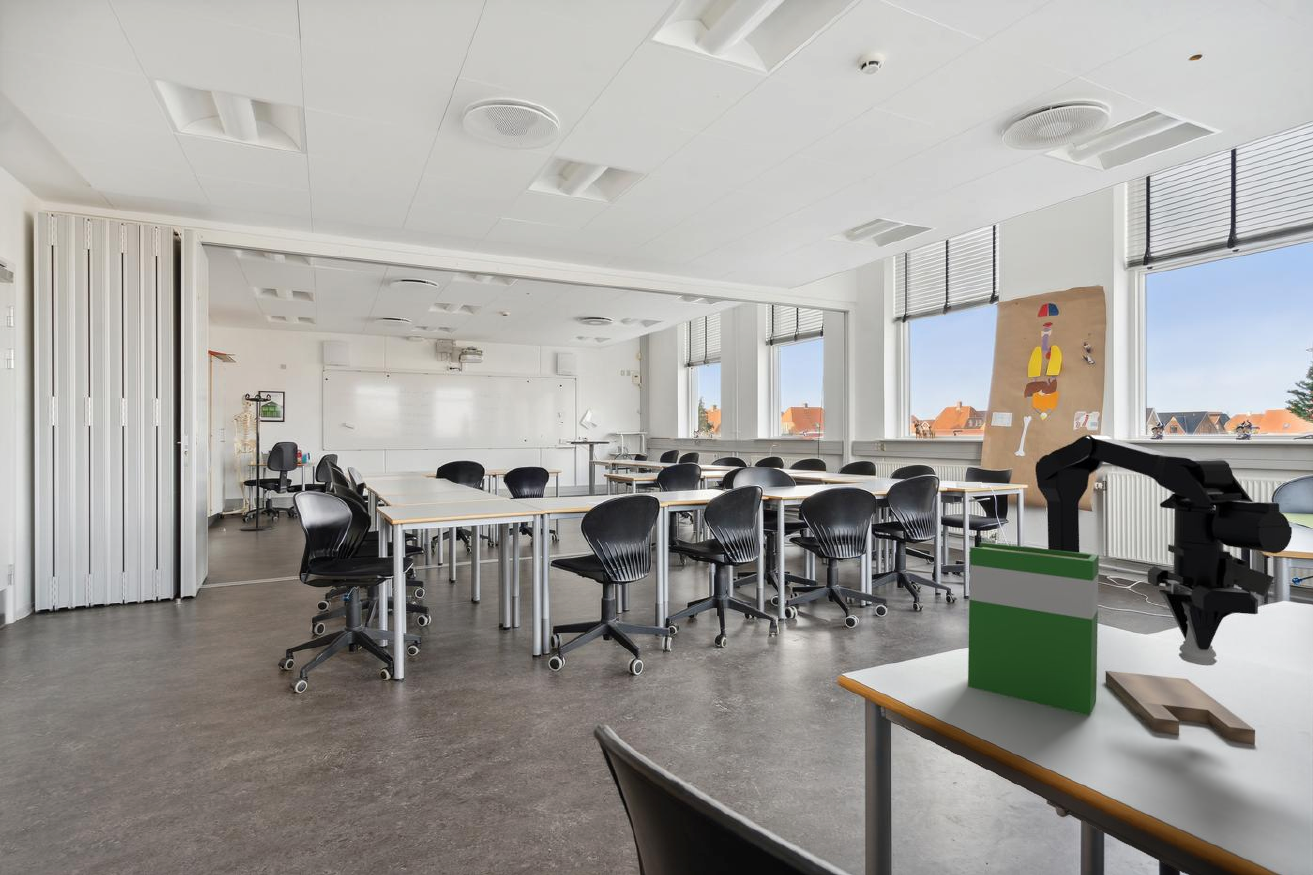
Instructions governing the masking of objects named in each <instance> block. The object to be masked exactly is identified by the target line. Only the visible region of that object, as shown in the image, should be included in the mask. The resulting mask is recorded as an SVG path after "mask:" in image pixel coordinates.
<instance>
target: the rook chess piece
mask: <svg viewBox="0 0 1313 875" xmlns="http://www.w3.org/2000/svg"><path fill="white" fill-rule="evenodd" d="M1184 613H1185V612H1184ZM1185 614H1186V613H1185ZM1186 623H1187V625H1188V630H1187V635H1186V639H1185V638H1184V641H1182V644H1181V645H1179V649H1178V650H1179V651H1180V652H1179V653H1178V656H1179V658H1180V659H1181V660H1182V661H1184V662H1186V663H1189V664H1194V665H1201V666H1214V665H1215V664H1216V663H1217V662H1218V660H1217V659H1216V657H1217V652H1216V651H1215V649H1213V648H1214V647H1213V646H1212V643H1211V644H1210V647H1209V649H1208V650H1201V649H1199V648H1198V646H1197V644H1196V641H1195V639H1194V636H1193V633H1192V630H1191V627H1190V624H1189V622H1188V621H1187V622H1186Z"/></svg>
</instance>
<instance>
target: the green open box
mask: <svg viewBox="0 0 1313 875" xmlns="http://www.w3.org/2000/svg"><path fill="white" fill-rule="evenodd" d="M1099 559H1100V555H1099V554H1093V553H1086V552H1079V553H1078V552H1068V551H1059V550H1050V549H1048V548H1039V547H1032V546H1031V547H1030V546H1021V545H1012V544H1003V543H994V542H993V543H992V542H983V541H981V542H979V547H978V546H977V547H976V546H970V547H969V596H968V597H969V598H968V599H969V604H968V606H969V607H968V652H967V653H968V659H967V660H968V662H967V665H968V667H967V668H968V669H967V675H968V676H967V687H968V688H972V689H973V688H974V689H976V690H981V691H985V692H988V693H989V692H990V693H993V694H998V695H1002V696H1005V697H1006V696H1007V697H1008V698H1009V697H1010V698H1015V699H1018V700H1022V701H1027V702H1031V703H1035V704H1039V705H1043V706H1048V707H1052V708H1056V709H1059V710H1064V711H1068V712H1072V713H1076V714H1078V715H1079V714H1080V715H1084V716H1088V717H1091V715H1092V713H1093V711H1094V708H1095V706H1096V703H1097V681H1098V680H1097V678H1098V676H1097V674H1098V629H1099V628H1098V627H1099V626H1098V623H1099V622H1098V619H1099V568H1100V567H1099V566H1100V562H1099V561H1100V560H1099Z"/></svg>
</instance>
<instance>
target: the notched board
mask: <svg viewBox="0 0 1313 875" xmlns="http://www.w3.org/2000/svg"><path fill="white" fill-rule="evenodd" d="M1105 681H1106V682H1107V683H1108V684H1107V683H1106V682H1105ZM1105 681H1104V682H1105V683H1106V684H1107V685H1108V687H1110V689H1112V690H1113V692H1114V693H1116V694H1117V695H1118V696H1119V697H1120V698H1121V699H1122V700H1123V702H1124V703H1126V704H1127V705H1128V707H1130V708H1131V709H1132V710H1133V712H1135V713H1136V714H1137V715H1138V716H1139V717H1140V718H1141V720H1143V721H1144V723H1146V725H1148V726H1149V728H1151V729H1152V731H1153V732H1155V733H1164V734H1170V735H1171V734H1172V735H1178V736H1179V735H1180V721H1189V722H1198V723H1203V724H1204V723H1205V724H1208V725H1209V726H1211V727H1212V728H1213V729H1214V730H1216V731H1217V732H1218V733H1219V734H1220V735H1221V736H1222V737H1224V738H1225V739H1226V740H1227V741H1229V742H1235V743H1244V744H1253V745H1255V744H1256V729H1255V728H1254V727H1253V726H1250V724H1248V723H1247V722H1246V721H1244V719H1243V720H1242V719H1241V718H1240V717H1238V716H1237V715H1236V714H1235V713H1233V712H1232V711H1231V710H1229V709H1228V708H1227V707H1225V706H1224V705H1223V704H1222V703H1220V702H1218V701H1217V700H1216V699H1214V698H1213V697H1212V696H1210V695H1209V694H1208V693H1206V692H1205V691H1204V690H1202V689H1201V688H1200V687H1199V686H1198V685H1195V684H1194V683H1193V682H1192V681H1190V680H1189V678H1181V677H1180V678H1179V677H1171V676H1163V675H1161V676H1159V675H1153V674H1152V675H1150V674H1142V673H1141V674H1140V673H1131V672H1124V671H1123V672H1122V671H1114V670H1113V671H1112V670H1105Z"/></svg>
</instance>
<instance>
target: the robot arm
mask: <svg viewBox="0 0 1313 875" xmlns="http://www.w3.org/2000/svg"><path fill="white" fill-rule="evenodd" d="M1103 463H1106V464H1109V465H1112V466H1115V467H1119V468H1122V469H1125V470H1129V471H1131V472H1134V473H1137V474H1141V475H1144V476H1147V477H1149V478H1151V479H1153V480H1154V481H1155V482H1156V483H1157V484H1158V486H1160V487H1163V488H1164V489H1166V490H1168V491H1169V492H1171V495H1170V496H1169V497H1168V498H1167V499H1164V500H1163V501H1161V502H1160V503H1159V506H1160V508H1162V509H1171V510H1174V511H1173V512H1174V515H1173V516H1174V518H1173V519H1174V520H1173V521H1174V522H1173V525H1174V526H1173V544H1167V551H1168V552H1170V553H1173V566H1159V565H1154V566H1152V567H1151V568H1150V569H1148V570H1147V584H1150V585H1152V586H1154V587H1159V586H1160V585H1161V584H1164V587H1165V589H1159V590H1158V592H1159V594H1160V595H1161V596H1162V598H1163V599H1164V601H1165V604H1166V605H1167V607H1168V610H1169V611H1170V613H1171V614H1172V617H1173V619H1174V620H1175V622H1176V624H1177V626H1178V628H1179V630H1180V632H1181V635H1182V636H1183V639H1184V640H1185V639H1186V635H1187V630H1188V625H1187V623H1186V622H1187V621H1188V622H1189V624H1190V627H1191V630H1192V633H1193V636H1194V639H1195V641H1196V644H1197V646H1198V648H1199V649H1201V650H1208V649H1209V647H1210V644H1211V645H1212V642H1213V640H1214V637H1215V635H1216V633H1217V631H1218V628H1219V627H1220V625H1221V623H1222V621H1223V620H1224V618H1225V617H1228V616H1230V615H1231V614H1233V613H1234V614H1245V615H1257V614H1259V600H1258V599H1257V598H1256V597H1255V596H1254V595H1253V594H1252V593H1255V594H1256V595H1259V596H1261V597H1264V598H1266V597H1267V594H1268V592H1269V590H1270V588H1271V586H1272V583H1273V581H1274V580H1275V576H1272V575H1271V574H1266V573H1264V572H1261V571H1258V570H1255V569H1253V568H1250V567H1249V566H1248V561H1247V560H1245V559H1241V558H1239V557H1236V556H1234V555H1233V554H1232V553H1231V551H1228V550H1225V549H1224V546H1227V547H1231V548H1238V549H1244V550H1250V551H1256V552H1257V551H1258V552H1262V553H1269V554H1278V553H1281V552H1283V551H1284V550H1285V549H1287V547H1288V546H1289V545H1290V542H1291V539H1292V534H1293V528H1292V527H1291V526H1290V522H1289V520H1288V519H1287V518H1288V517H1286V516H1285V515H1284V513H1282V512H1280V503H1278V502H1271V501H1260V502H1259V501H1258V502H1256V501H1253V500H1252V498H1251V497H1250V496H1249V494H1248V493H1247V491H1245V489H1244V488H1243V486H1242V485H1241V483H1240V482H1239V481H1238V480H1237V478H1236V477H1235V476H1234V475H1233V474H1234V473H1233V470H1232V469H1231V467H1230V463H1228V462H1227V461H1226V460H1224V459H1222V458H1219V457H1209V456H1199V455H1198V456H1196V455H1181V454H1171V453H1166V452H1162V451H1159V450H1155V449H1151V448H1148V447H1144V446H1141V445H1136V444H1133V443H1129V442H1125V441H1121V440H1118V439H1114V438H1112V437H1110V436H1108V435H1102V434H1101V435H1099V434H1098V435H1095V434H1094V435H1093V434H1092V435H1089V434H1087V435H1086V434H1085V435H1084V436H1080V437H1079V438H1077V439H1076V440H1074V442H1072V443H1070V444H1067V445H1065V446H1062V447H1059V448H1058V449H1055V450H1054V451H1052V452H1050V453H1049V454H1045V455H1043V456H1042V457H1040V459H1039V460H1038V461H1036V464H1035V478H1036V483H1037V487H1038V488H1037V489H1038V490H1039V491H1040V493H1041V494H1042V496H1043V497H1044V498H1045V501H1046V508H1047V547H1048V548H1047V549H1050V550H1059V551H1068V552H1078V553H1080V524H1079V523H1080V522H1079V521H1080V520H1079V518H1080V517H1079V515H1080V514H1079V513H1080V512H1079V502H1080V501H1081V499H1082V498H1083V495H1084V494H1085V493H1086V491H1087V489H1088V486H1089V478H1090V475H1092V474H1093V473H1095V472H1096V471H1097V470H1098V471H1099V469H1100V468H1101V467H1102V465H1103ZM1235 586H1237V587H1235ZM1240 588H1241V589H1240ZM1248 591H1249V592H1248ZM1184 612H1185V613H1186V614H1185V613H1184Z"/></svg>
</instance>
